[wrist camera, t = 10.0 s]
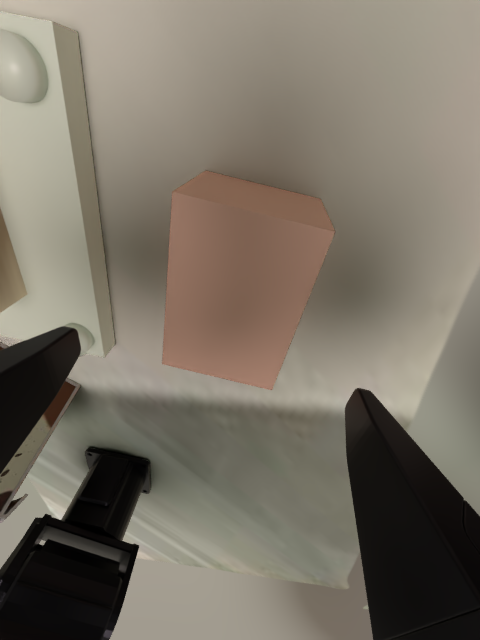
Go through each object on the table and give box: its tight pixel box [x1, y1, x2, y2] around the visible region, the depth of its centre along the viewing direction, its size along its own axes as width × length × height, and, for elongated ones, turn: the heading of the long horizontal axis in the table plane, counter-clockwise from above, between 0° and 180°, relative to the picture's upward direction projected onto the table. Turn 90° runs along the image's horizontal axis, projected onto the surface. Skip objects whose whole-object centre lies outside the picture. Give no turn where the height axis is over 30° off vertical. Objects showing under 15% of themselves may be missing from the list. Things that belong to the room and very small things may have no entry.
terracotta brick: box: [162, 171, 335, 390], centre depth 14 cm, size 8×6×5 cm
